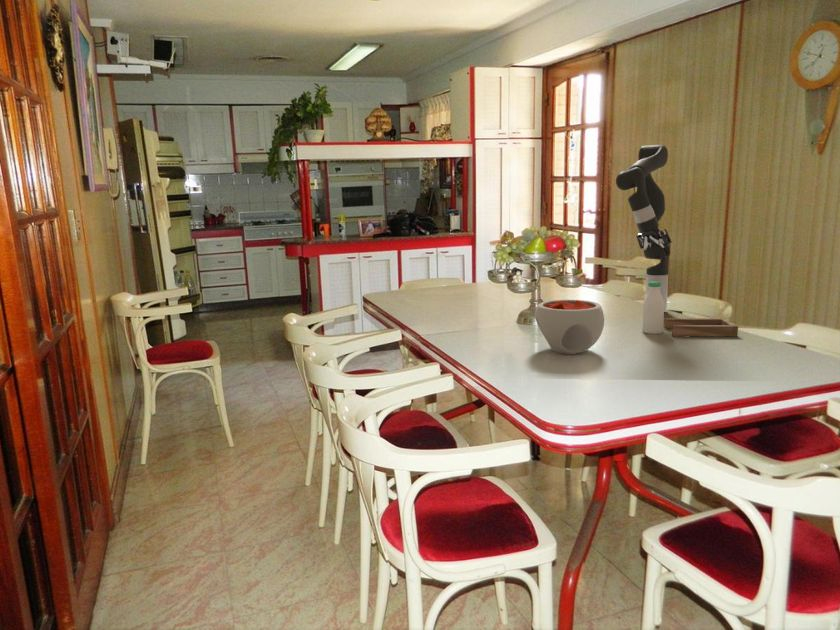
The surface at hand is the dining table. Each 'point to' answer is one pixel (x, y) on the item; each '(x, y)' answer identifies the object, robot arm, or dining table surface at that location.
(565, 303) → the pot
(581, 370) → the dining table surface
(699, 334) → the walnut U-rest
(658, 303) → the milk bottle
